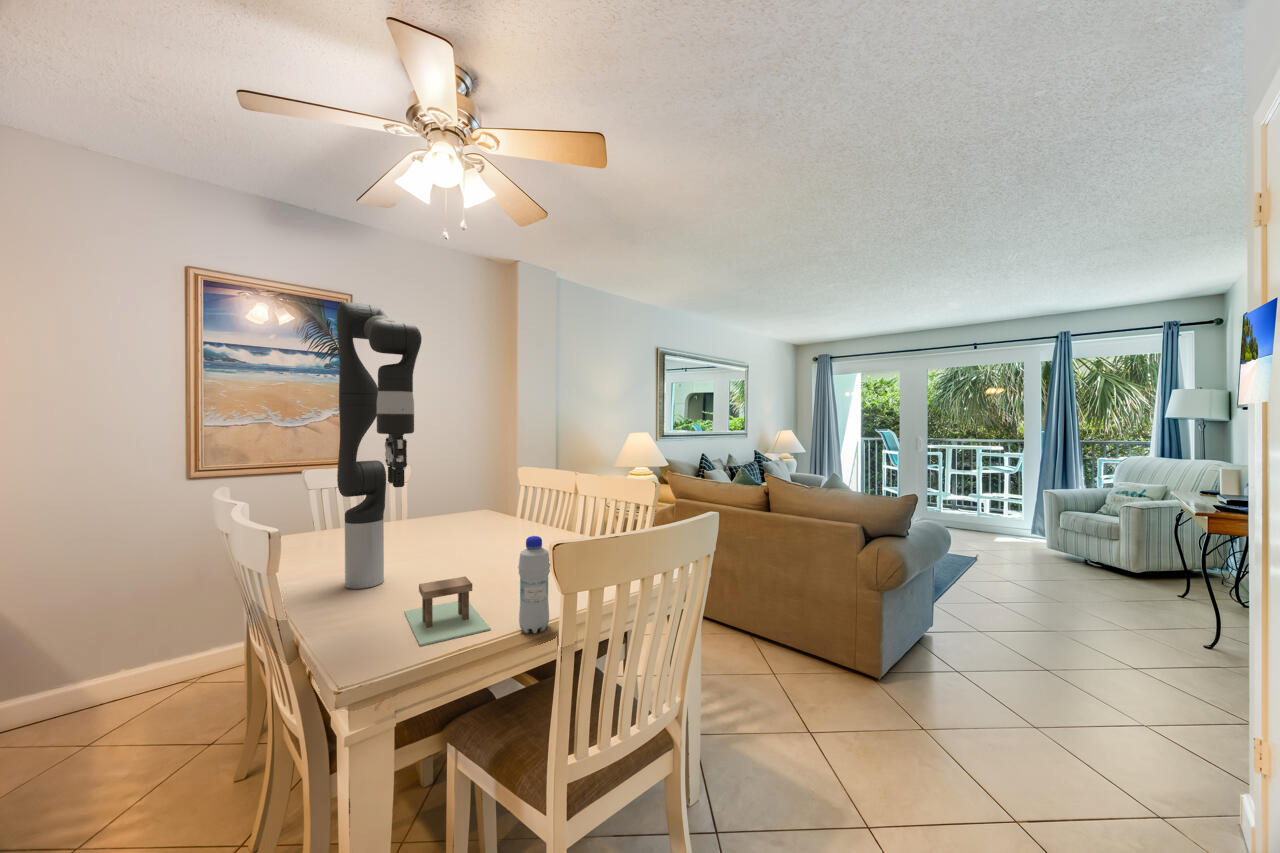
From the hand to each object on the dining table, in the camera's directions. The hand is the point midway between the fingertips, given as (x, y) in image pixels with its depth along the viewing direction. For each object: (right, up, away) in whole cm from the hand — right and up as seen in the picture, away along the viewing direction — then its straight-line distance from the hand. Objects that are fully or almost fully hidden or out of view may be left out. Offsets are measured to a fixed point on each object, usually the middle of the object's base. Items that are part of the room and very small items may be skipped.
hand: (395, 484), depth 111 cm
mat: (+11, -30, -1) cm, 32 cm away
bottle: (+32, -31, -5) cm, 44 cm away
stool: (+12, -30, -1) cm, 32 cm away
